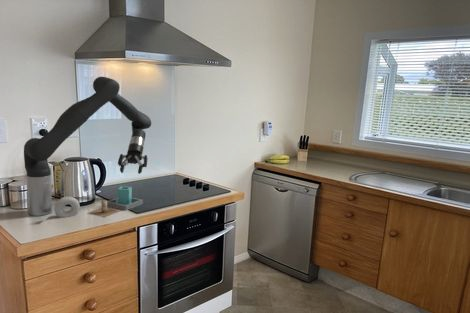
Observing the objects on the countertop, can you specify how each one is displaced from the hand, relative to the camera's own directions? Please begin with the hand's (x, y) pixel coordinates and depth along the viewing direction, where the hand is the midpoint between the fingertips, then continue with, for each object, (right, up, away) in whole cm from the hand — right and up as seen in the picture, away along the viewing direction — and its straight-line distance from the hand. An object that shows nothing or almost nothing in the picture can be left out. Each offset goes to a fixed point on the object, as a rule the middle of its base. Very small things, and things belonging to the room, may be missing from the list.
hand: (130, 172), depth 176 cm
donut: (-19, -19, -26) cm, 37 cm away
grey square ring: (-1, -17, -7) cm, 18 cm away
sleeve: (-1, -16, -7) cm, 17 cm away
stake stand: (-6, -18, -19) cm, 27 cm away
